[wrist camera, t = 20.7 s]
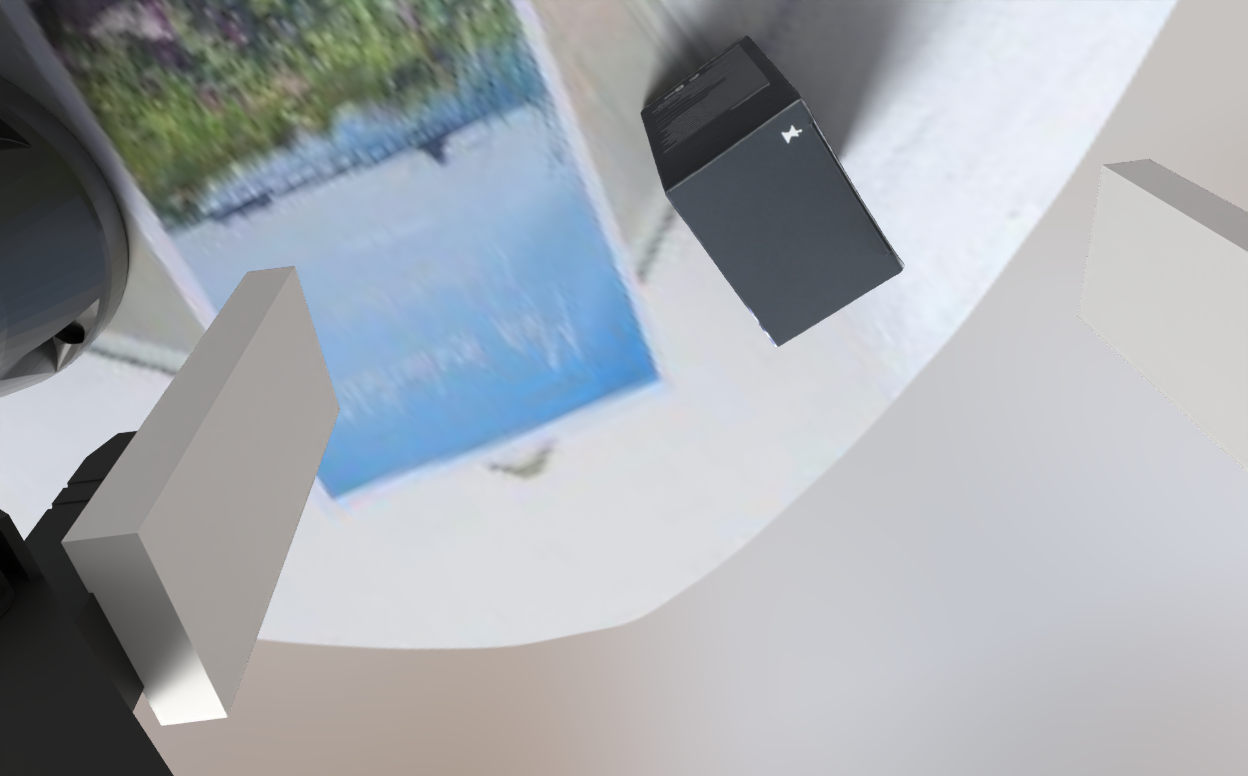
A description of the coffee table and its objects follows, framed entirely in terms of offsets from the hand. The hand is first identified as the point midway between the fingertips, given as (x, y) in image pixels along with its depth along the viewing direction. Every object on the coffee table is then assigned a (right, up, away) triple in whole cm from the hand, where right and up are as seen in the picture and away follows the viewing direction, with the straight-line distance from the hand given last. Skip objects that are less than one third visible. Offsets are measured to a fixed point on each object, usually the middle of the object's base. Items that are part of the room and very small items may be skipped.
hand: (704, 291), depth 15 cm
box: (+4, +9, +26) cm, 28 cm away
